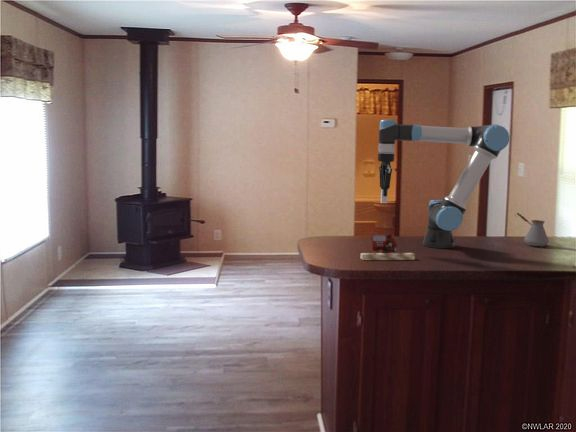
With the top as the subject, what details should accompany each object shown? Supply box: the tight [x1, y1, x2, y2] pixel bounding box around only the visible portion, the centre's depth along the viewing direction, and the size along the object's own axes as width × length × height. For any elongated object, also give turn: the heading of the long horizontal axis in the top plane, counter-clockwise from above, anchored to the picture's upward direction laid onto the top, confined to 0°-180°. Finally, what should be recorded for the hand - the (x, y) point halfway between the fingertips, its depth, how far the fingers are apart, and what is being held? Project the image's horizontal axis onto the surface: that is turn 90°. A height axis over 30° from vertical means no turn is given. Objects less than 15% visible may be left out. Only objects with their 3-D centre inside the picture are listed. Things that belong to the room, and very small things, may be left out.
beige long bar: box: [359, 252, 416, 261], centre depth 263 cm, size 24×3×3 cm, turn 98°
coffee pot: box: [514, 212, 549, 247], centre depth 308 cm, size 21×12×15 cm, turn 21°
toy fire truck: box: [370, 233, 398, 253], centre depth 268 cm, size 7×12×10 cm, turn 102°
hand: (383, 202), depth 282 cm, fingers closed
